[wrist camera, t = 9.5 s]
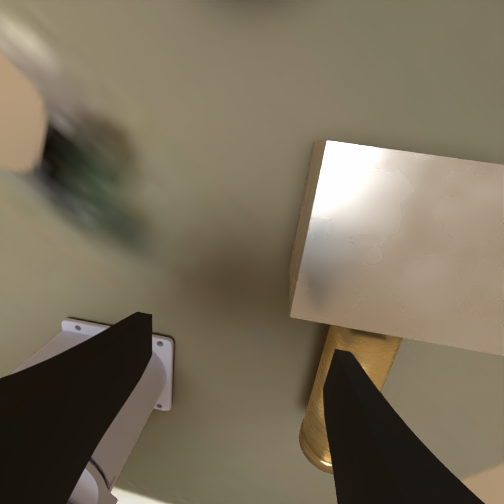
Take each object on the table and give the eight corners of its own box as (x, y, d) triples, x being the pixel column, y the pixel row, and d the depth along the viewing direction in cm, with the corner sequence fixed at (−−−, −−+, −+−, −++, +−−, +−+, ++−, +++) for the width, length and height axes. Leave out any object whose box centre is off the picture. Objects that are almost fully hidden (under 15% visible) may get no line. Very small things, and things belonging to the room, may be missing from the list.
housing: (289, 264, 20) (289, 317, 14) (313, 141, 17) (327, 140, 11) (438, 289, 19) (506, 356, 13) (491, 165, 16) (610, 179, 10)
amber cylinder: (298, 413, 23) (299, 466, 19) (329, 297, 19) (338, 335, 15) (348, 424, 23) (360, 480, 19) (391, 308, 19) (416, 350, 15)
